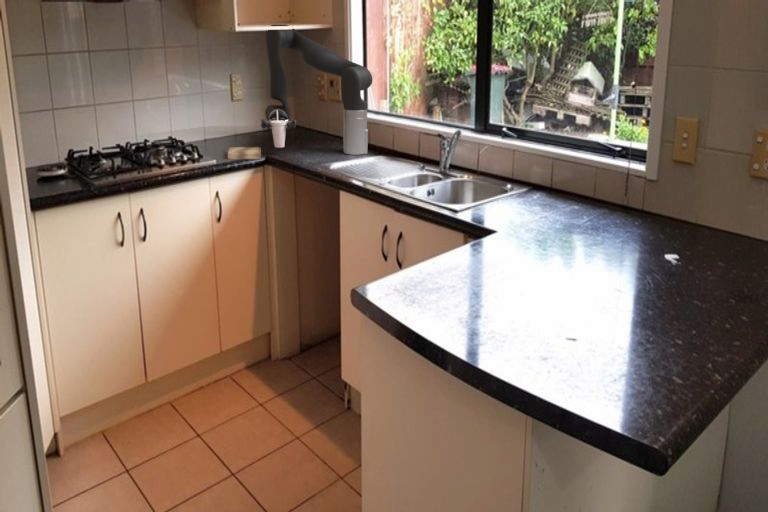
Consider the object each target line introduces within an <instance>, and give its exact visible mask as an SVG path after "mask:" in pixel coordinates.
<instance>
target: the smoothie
mask: <svg viewBox="0 0 768 512" xmlns="http://www.w3.org/2000/svg"><path fill="white" fill-rule="evenodd" d="M276 112H277V120H275V121H271V122H270V125H271V127H272V129H271V132H272V138H273V146H274V148H285V146H286V145H285V143H286V142H285V141H286V129H287V128H286V124H287V121H283V120H278V110H276Z"/></svg>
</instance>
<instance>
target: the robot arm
mask: <svg viewBox="0 0 768 512" xmlns="http://www.w3.org/2000/svg"><path fill="white" fill-rule="evenodd" d="M269 26H289V25H287V24H270V25H269ZM265 43H266V50H267V52H266V53H267V58H268V66H269V74H270V75H269V80H270V81H269V84H270V85H269V96H270V98H271V99H272V100H275V101H279V103H281V105H280V104H269V105H267V106H266V107H265V111H264V114H265V117H266V120H265V119H260V126H261V128H262V129H268V130H271V131H272V127H271V125H270V122H271V121H275V120H277V112H276V110H278V120H283V121H287V124H286V129H287V130H290V129H291V128H292V129H296V126H297V119H296V118H293V119H291V116H292V114H291V110H290V105H289V101H288V100H289V99H288V78H287V74H286V72H285V69H284V66H283V63H282V61H281V49H289V50H292V51H294V52H296V53H298V54H299V55H300V56H301V59H302V60H303V61H304V62H305V64H307V65H308V66H310V67H312V68H313V69H315V70H317V71H320V72H322V73H325V74H329V75H334V76H336V77H340V89H341V90H340V92H341V94H340V95H341V96H340V97H341V102H342V104H343V153H344V154H346V155H353V156H355V155H357V156H358V155H367V154H368V143H369V142H368V139H369V138H368V137H369V136H368V133H369V130H368V102H367V101H366V100H364V99H363V98H362V95H361V92H362V91H365V90H367V89H369V88H370V87H371V86H372V84H373V75H372V72H371V71H370V70H369V69H368V68H367V67H365V66H364V65H361V64H358V63H355V62H353V61H351V60H348V59H346V58H345V57H343V56H341V55H340V54H338V53H336V52H334V51H332V50H331V49H330V48H328V47H326V46H324V45H322V44H320V43H318V42H316V41H314V40H313V39H310V38H309V37H307V36H304V35H303V34H301V32H299V31H298V30H297V29H295V28H293V29H292V30H268V31H267V30H266V31H265Z"/></svg>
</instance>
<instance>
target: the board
mask: <svg viewBox="0 0 768 512" xmlns="http://www.w3.org/2000/svg"><path fill="white" fill-rule="evenodd" d="M261 150H262V149H261V147H259V146H249V147H248V146H240V147H239V146H237V147H236V146H235V147H233V146H231V147H229V148H228V151H227V152H228V153H227V160H261V157H262V155H261V154H262V151H261Z"/></svg>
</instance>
